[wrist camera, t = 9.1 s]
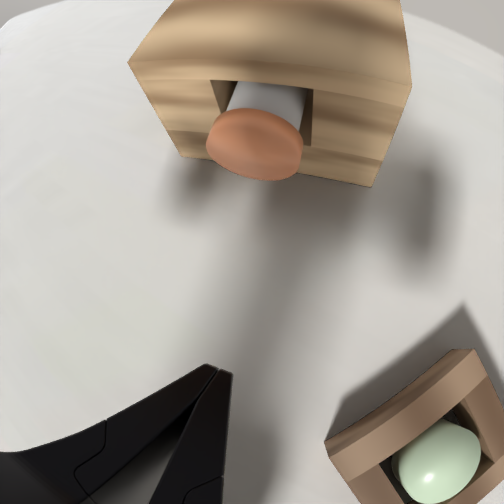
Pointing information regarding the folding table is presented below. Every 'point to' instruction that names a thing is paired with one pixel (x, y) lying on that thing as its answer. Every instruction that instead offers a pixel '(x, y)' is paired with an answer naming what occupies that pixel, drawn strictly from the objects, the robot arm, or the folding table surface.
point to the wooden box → (284, 73)
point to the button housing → (417, 421)
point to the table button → (437, 462)
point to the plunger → (260, 131)
